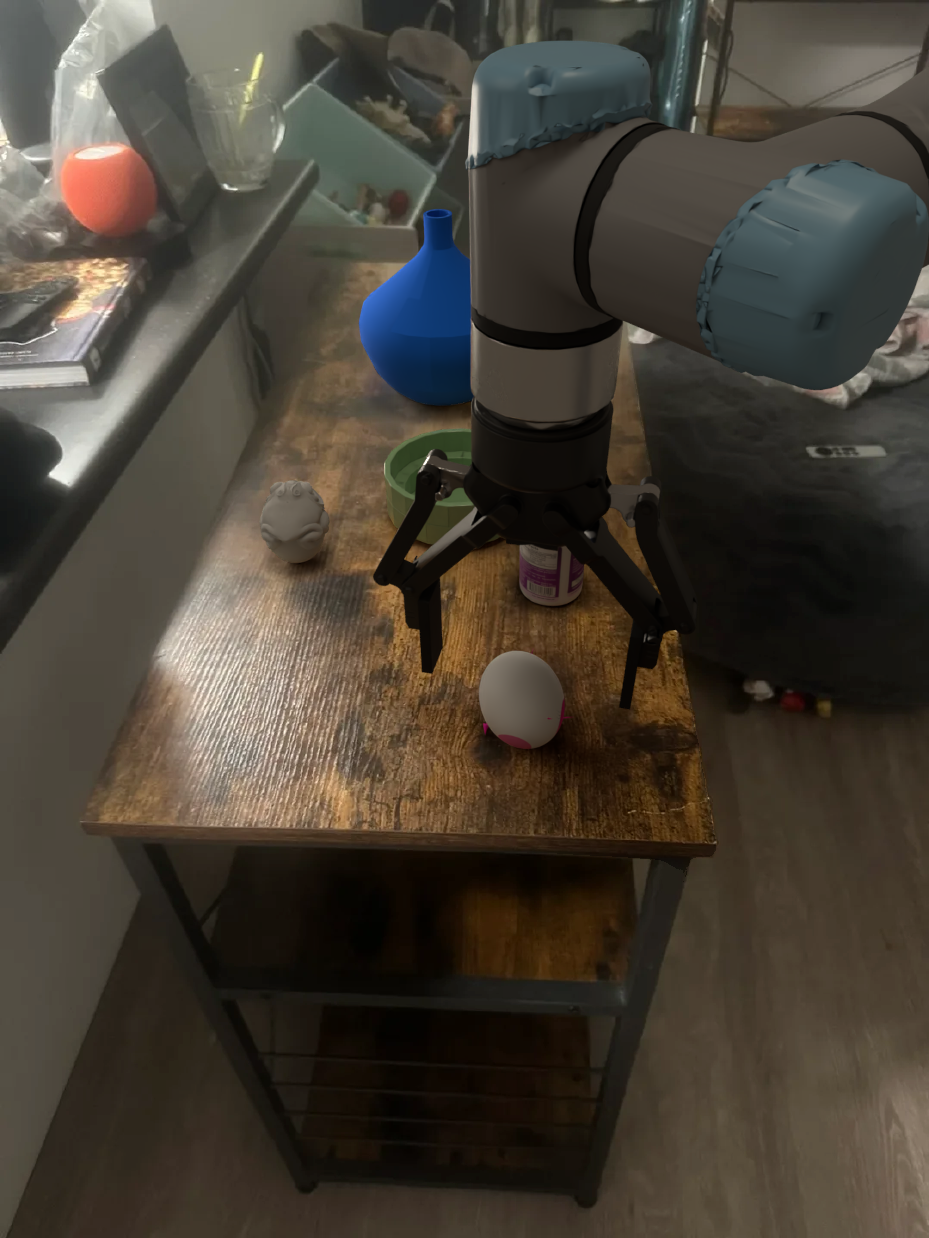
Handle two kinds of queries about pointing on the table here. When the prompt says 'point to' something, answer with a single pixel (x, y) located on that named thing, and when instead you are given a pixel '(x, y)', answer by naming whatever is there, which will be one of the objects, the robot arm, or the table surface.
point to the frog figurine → (294, 521)
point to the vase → (424, 321)
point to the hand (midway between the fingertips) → (527, 677)
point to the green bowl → (404, 472)
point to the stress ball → (521, 699)
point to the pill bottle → (549, 575)
